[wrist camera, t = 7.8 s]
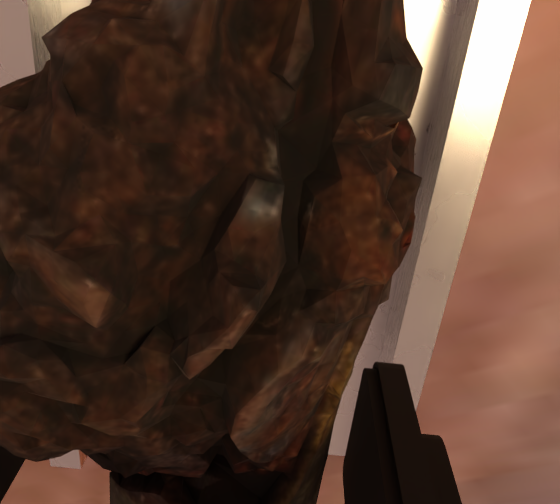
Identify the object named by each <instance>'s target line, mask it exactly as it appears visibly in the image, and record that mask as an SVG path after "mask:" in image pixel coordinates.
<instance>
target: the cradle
mask: <svg viewBox="0 0 560 504" xmlns="http://www.w3.org/2000/svg"><path fill="white" fill-rule="evenodd" d="M91 1H92V0H0V87H2V86H4V85H7V84H9V83H11V82H13V81H15V80H18V79H21V78H24V77H27V76H30V75H33V74H36V73H39V72H40V71H41V70H43V68H44V65H45V63H46V61H48V60H50V53H49V51H48V50H47V48H46V46H45V44H44V42H43V40H42V38H41V37H42V36H44V35H45V34H46V33H47V32H49V31H50V30H51V29H52V28H54V27H55V26H56V25H57V24H59V23H60V22H61V21H62V20H64V19H65V18H66V17H67V16H69V15H70V14H71V13H73V12H75V11H77V10H79V9H82V8H84V7H86V6H89V5H90V3H91ZM530 2H531V0H404V11H405V23H406V35H407V39H408V41H409V43H410V45H411V47H412V48H413V50H414V52H415V54H416V56H417V58H418V60H419V62H420V63H421V65H422V67H423V71H422V76H421V81H420V86H419V91H418V94H417V98H416V101H415V104H414V107H413V110H412V113H411V116H410V118H409V119H408V121H409V123H410V125H411V126H412V128H413V131H414V134H415V137H416V144H415V149H414V174H416V175H418V176H420V177H421V178H422V181H421V184H420V187H419V190H418V193H417V196H416V200H415V208H414V213H415V222H414V228H413V234H412V240H411V244H410V246H409V248H408V250H407V252H406V254H405V256H404V258H403V261H402V263H401V265H400V267H399V268H397V270H396V271H395V272H394V274H393V276H392V282H391V289H390V295H389V300H387V301H385V302H383V303H382V304H380V305H379V306H378V308H377V310H376V312H375V315H374V317H373V319H372V321H371V324H370V326H369V329H368V332H367V334H366V337H365V339H364V342H363V344H362V346H361V348H360V351H359V353H358V355H357V357H356V360H355V363H354V368H353V372H352V375H351V377H350V379H349V381H348V383H347V386H346V388H345V390H344V392H343V394H342V397H341V401H340V405H339V408H338V412H337V415H336V418H335V422H334V426H333V431H332V436H331V441H330V446H329V451H328V455H338V456H345V453H346V449H347V444H348V439H349V434H350V430H351V425H352V420H353V415H354V411H355V406H356V401H357V396H358V391H359V387H360V382H361V377H362V373H363V369H364V368H373V365H374V363H375V362H385V363H395V364H403V365H404V367H405V371H406V375H407V379H408V383H409V387H410V391H411V395H412V399H413V403H414V407H415V411H416V409H417V406H418V402H419V399H420V395H421V391H422V388H423V384H424V381H425V377H426V373H427V370H428V366H429V363H430V359H431V356H432V352H433V348H434V345H435V341H436V338H437V334H438V331H439V327H440V323H441V320H442V316H443V313H444V309H445V306H446V302H447V298H448V295H449V291H450V288H451V284H452V281H453V277H454V273H455V270H456V266H457V263H458V259H459V256H460V252H461V248H462V245H463V241H464V238H465V234H466V231H467V227H468V223H469V220H470V216H471V213H472V209H473V206H474V202H475V198H476V195H477V191H478V188H479V184H480V181H481V177H482V173H483V170H484V166H485V163H486V159H487V156H488V152H489V148H490V145H491V141H492V138H493V134H494V131H495V127H496V123H497V120H498V116H499V113H500V109H501V106H502V102H503V98H504V95H505V91H506V88H507V84H508V81H509V77H510V73H511V70H512V66H513V63H514V59H515V56H516V52H517V48H518V45H519V41H520V38H521V34H522V31H523V27H524V23H525V20H526V16H527V13H528V9H529V6H530ZM86 457H87V455H85V454H84V453H83V452H81V451H80V450H72V451H70V452H69V453H67V454H65V455H63V456H61V457H56V458H52V459H49V460H50V466H54V467H64V468H73V469H81V468H82V466H83V464H84V462H85V459H86Z"/></svg>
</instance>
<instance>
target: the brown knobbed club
mask: <svg viewBox="0 0 560 504" xmlns="http://www.w3.org/2000/svg"><path fill="white" fill-rule="evenodd" d="M41 38H42V40H43V42H44V44H45V46H46V48H47V50H48V51H49V53H50V60H48V61H46V63H45V65H44V68H43V70H41V71H40V72H39V73H36V74H33V75H30V76H27V77H24V78H21V79H18V80H15V81H13V82H11V83H9V84H7V85H4V86H2V87H0V446H2V447H4V448H5V449H6V450H8V451H9V452H11V453H12V454H13V455H15V456H18V457H21V458H25V459H28V460H31V461H35V462H38V461H43V460H47V459H52V458H56V457H61V456H63V455H65V454H67V453H69V452H70V451H72V450H80V451H81V452H83V453H84V454H85V455H88V456H89V457H90V458H91V459H93V460H94V461H95V462H96V463H97V464H99V465H100V466H101V467H102V468H104V469H107V470H111V472H110V504H316V502H317V498H318V493H319V489H320V484H321V480H322V475H323V471H324V467H325V464H326V460H327V456H328V451H329V446H330V441H331V436H332V431H333V426H334V422H335V418H336V415H337V412H338V408H339V405H340V401H341V397H342V394H343V392H344V390H345V388H346V386H347V383H348V381H349V379H350V377H351V375H352V372H353V368H354V363H355V360H356V357H357V355H358V353H359V351H360V348H361V346H362V344H363V342H364V339H365V337H366V334H367V332H368V329H369V326H370V324H371V321H372V319H373V317H374V315H375V312H376V310H377V308H378V306H379V305H380V304H382V303H383V302H385V301H387V300H389V295H390V289H391V282H392V276H393V274H394V272H395V271H396V270H397V268H399V267H400V265H401V263H402V261H403V258H404V256H405V254H406V252H407V250H408V248H409V246H410V244H411V240H412V234H413V228H414V222H415V213H414V208H415V200H416V196H417V193H418V190H419V187H420V184H421V181H422V178H421V177H420V176H418V175H416V174H414V149H415V144H416V137H415V134H414V131H413V128H412V126H411V125H410V123H409V121H408V119H409V118H410V116H411V113H412V110H413V107H414V104H415V101H416V98H417V94H418V91H419V86H420V81H421V76H422V71H423V67H422V65H421V63H420V62H419V60H418V58H417V56H416V54H415V52H414V50H413V48H412V47H411V45H410V43H409V41H408V39H407V35H406V23H405V11H404V0H92V1H91V3H90V5H89V6H86V7H84V8H82V9H79V10H77V11H75V12H73V13H71V14H70V15H69V16H67V17H66V18H65V19H64V20H62V21H61V22H60V23H59V24H57V25H56V26H55V27H54V28H52V29H51V30H50V31H49V32H47V33H46V34H45V35H44V36H42V37H41Z"/></svg>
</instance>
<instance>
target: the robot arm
mask: <svg viewBox="0 0 560 504" xmlns="http://www.w3.org/2000/svg"><path fill="white" fill-rule="evenodd" d="M24 461H25V458H21V457H18V456H15V455H13V454H12V453H11V452H9V451H8V450H6V449H5V448H4V447H2V446H0V503H1V501H2V499H3V497H4V496H5V494H6V492H7V490H8V489H9V487H10V485H11V483H12V482H13V480H14V478H15V476H16V475H17V473H18V471H19V469H20V468H21V466H22V464H23V462H24ZM343 485H344V499H345V504H462V502H461V499H460V496H459V492H458V489H457V485H456V482H455V478H454V475H453V472H452V468H451V465H450V461H449V458H448V455H447V451H446V448H445V445H444V442H443V440H442V438H441V437H440V436H438V435H428V434H421V431H420V427H419V423H418V419H417V415H416V411H415V407H414V403H413V399H412V395H411V391H410V387H409V383H408V379H407V375H406V371H405V367H404V365H403V364H395V363H385V362H375V363H374V365H373V368H364V369H363V373H362V377H361V382H360V387H359V391H358V396H357V401H356V406H355V411H354V415H353V420H352V425H351V430H350V434H349V439H348V444H347V449H346V453H345V458H344V465H343Z"/></svg>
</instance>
